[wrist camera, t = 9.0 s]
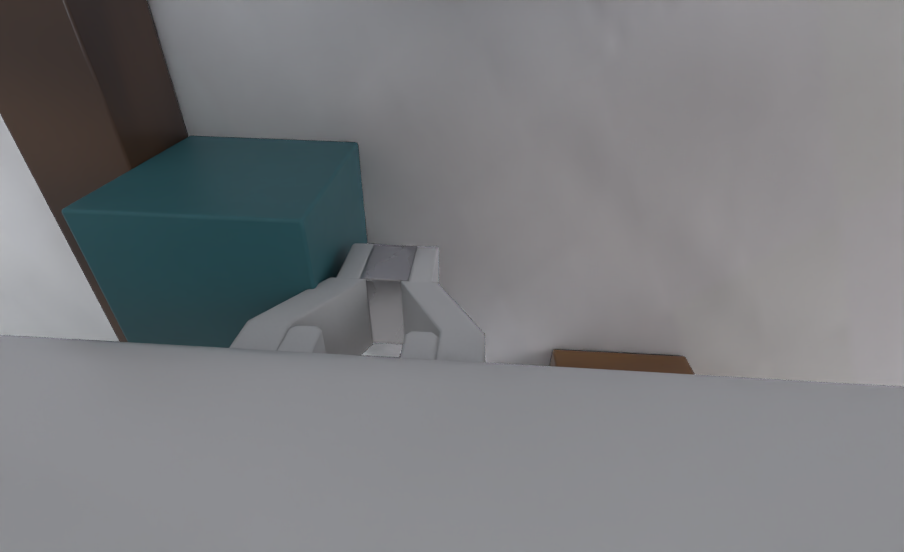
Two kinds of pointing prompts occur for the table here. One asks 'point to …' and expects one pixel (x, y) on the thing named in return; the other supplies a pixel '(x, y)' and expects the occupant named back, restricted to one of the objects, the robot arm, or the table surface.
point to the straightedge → (84, 98)
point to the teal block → (219, 233)
